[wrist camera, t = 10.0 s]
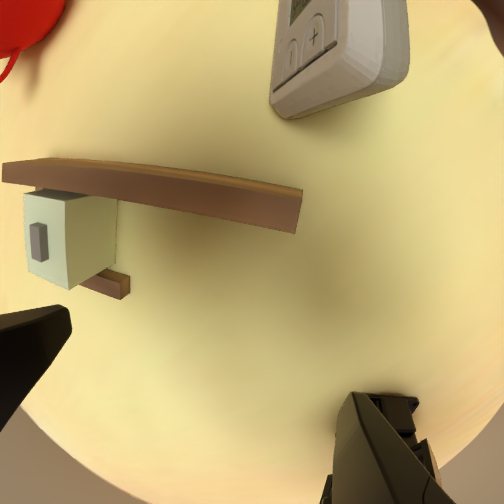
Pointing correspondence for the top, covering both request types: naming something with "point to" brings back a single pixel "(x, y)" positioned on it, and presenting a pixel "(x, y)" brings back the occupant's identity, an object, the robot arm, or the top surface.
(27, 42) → the ceramic cup
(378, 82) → the digital clock
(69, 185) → the wall board
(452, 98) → the top surface
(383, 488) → the robot arm
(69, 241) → the cabinet block
